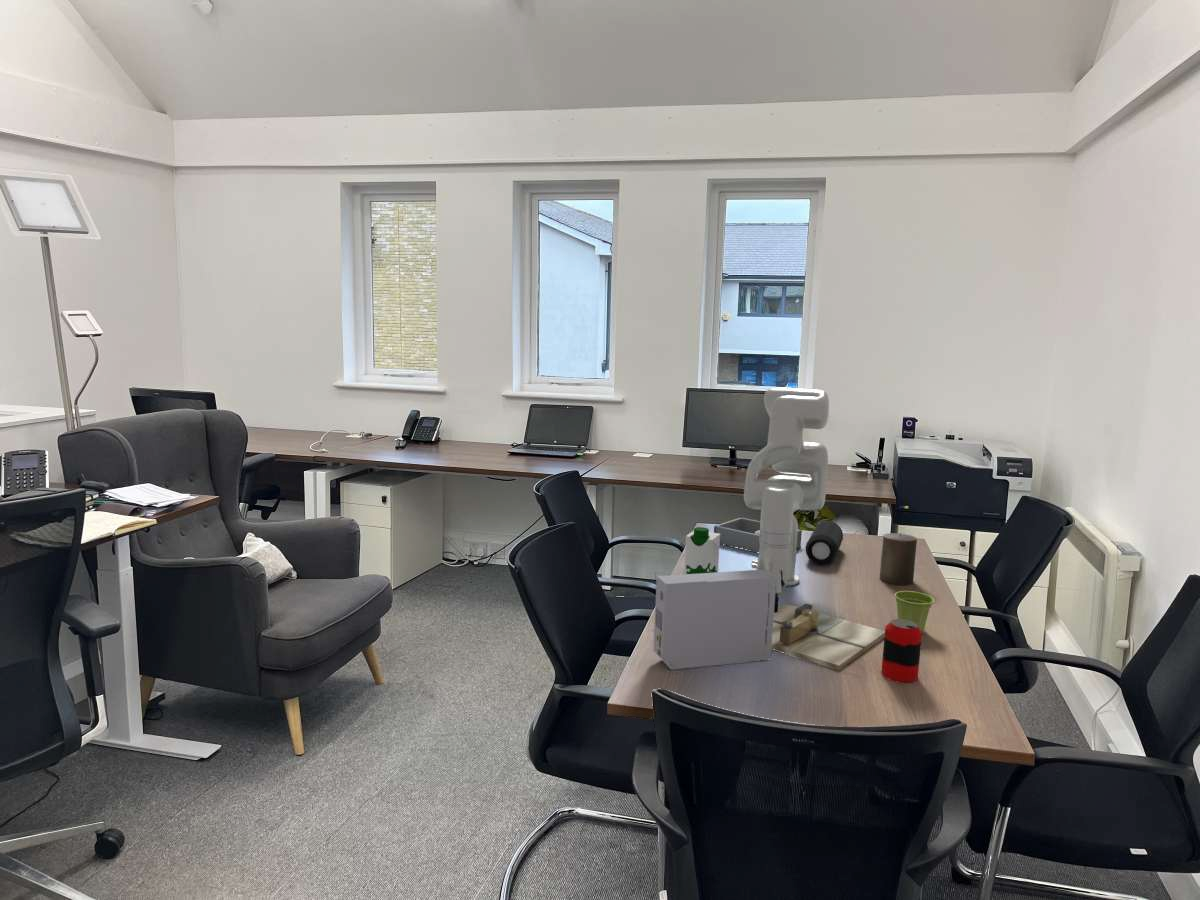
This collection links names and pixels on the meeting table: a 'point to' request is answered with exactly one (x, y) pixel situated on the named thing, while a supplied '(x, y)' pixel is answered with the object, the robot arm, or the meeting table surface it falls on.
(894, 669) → the soda can
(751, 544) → the organiser frame
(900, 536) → the pillar candle
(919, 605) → the plant pot
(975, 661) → the meeting table surface
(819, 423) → the robot arm
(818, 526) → the portable speaker
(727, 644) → the game console
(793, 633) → the swing bar
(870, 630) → the lock board
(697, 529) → the milk carton
